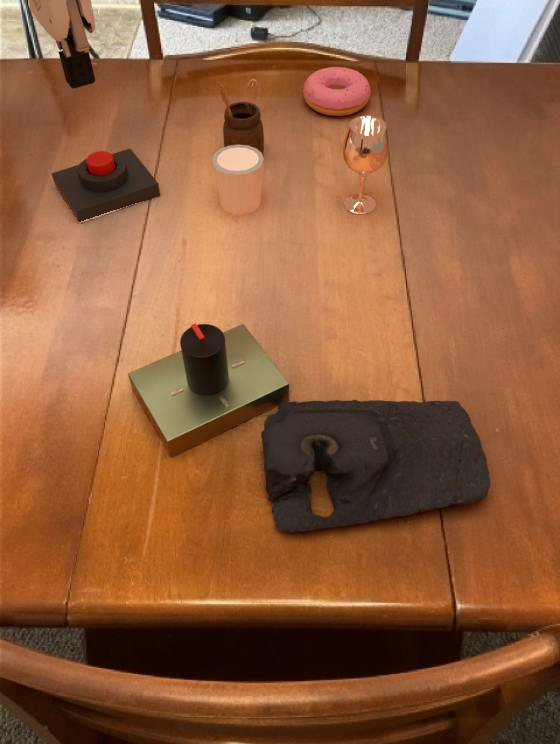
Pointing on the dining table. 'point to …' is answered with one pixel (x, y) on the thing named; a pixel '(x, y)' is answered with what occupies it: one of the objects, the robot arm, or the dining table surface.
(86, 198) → the button box
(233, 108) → the utensil holder
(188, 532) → the dining table surface
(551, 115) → the dining table surface
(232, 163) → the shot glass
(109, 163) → the button
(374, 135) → the wineglass
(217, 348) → the dial
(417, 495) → the dark grey slotted slab
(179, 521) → the dining table surface
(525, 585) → the dining table surface
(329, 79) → the doughnut
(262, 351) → the control panel
